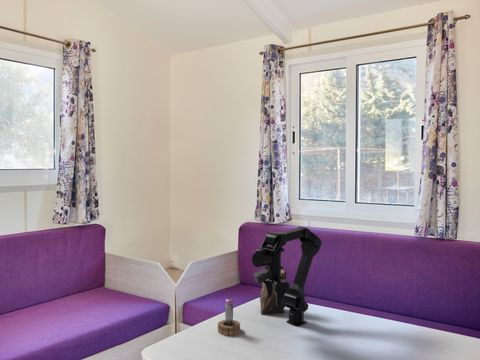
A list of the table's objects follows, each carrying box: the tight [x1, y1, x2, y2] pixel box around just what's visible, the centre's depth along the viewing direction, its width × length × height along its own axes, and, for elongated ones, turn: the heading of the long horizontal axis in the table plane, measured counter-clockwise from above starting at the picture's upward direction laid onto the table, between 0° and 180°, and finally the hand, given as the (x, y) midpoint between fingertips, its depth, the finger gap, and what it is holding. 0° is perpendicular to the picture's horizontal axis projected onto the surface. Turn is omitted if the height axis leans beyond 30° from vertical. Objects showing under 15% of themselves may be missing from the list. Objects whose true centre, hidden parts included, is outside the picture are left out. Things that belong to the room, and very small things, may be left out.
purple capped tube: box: [224, 298, 234, 326], centre depth 175 cm, size 3×3×13 cm
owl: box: [259, 268, 288, 316], centre depth 200 cm, size 13×13×20 cm
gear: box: [217, 319, 241, 336], centre depth 175 cm, size 9×9×3 cm
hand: (273, 300), depth 174 cm, fingers open, 9 cm apart
